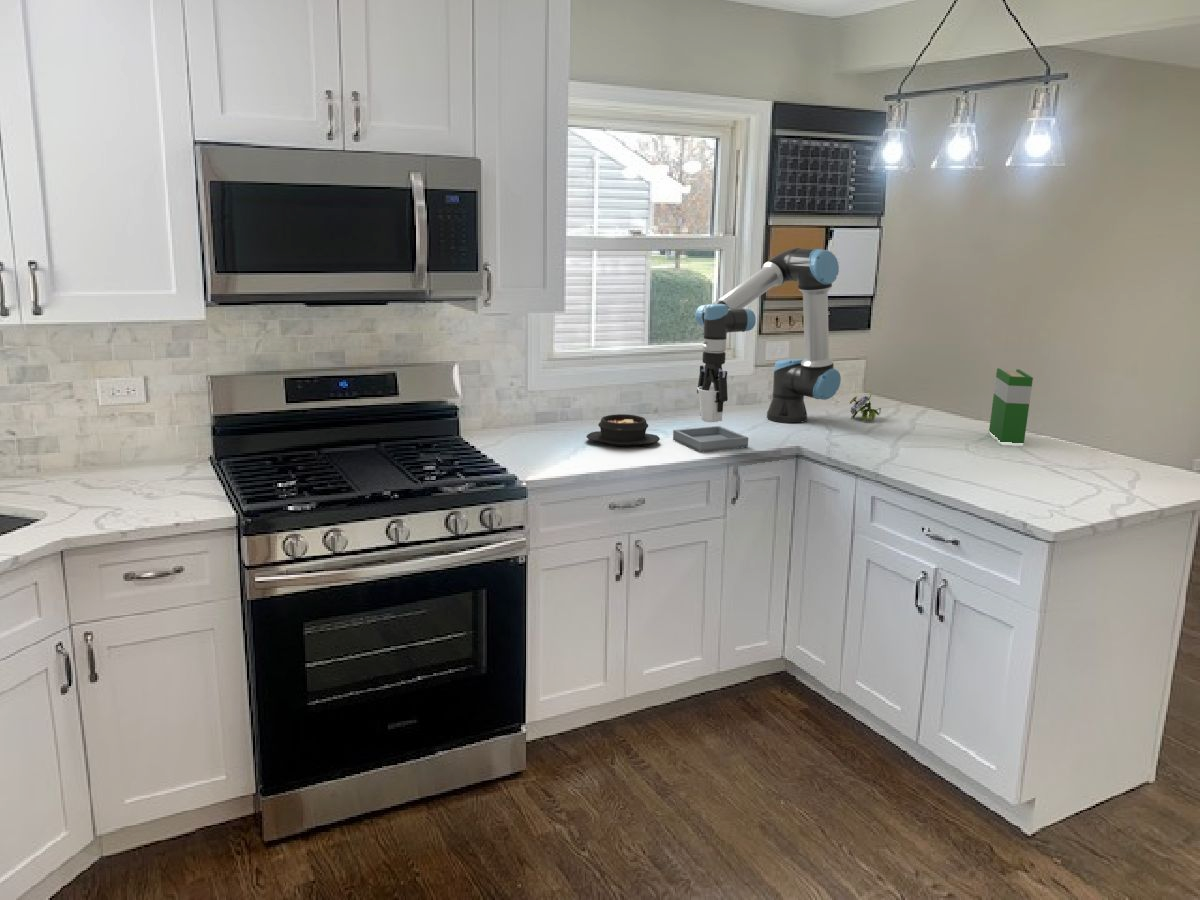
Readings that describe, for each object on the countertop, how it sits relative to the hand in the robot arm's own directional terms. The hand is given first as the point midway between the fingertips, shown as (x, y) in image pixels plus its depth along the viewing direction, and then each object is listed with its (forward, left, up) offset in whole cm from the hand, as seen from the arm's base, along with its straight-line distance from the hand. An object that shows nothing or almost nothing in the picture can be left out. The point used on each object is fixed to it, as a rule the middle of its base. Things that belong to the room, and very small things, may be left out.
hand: (710, 418), depth 302 cm
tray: (0, 0, -9) cm, 9 cm away
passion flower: (-76, -12, -9) cm, 78 cm away
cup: (0, 0, -1) cm, 1 cm away
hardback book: (-101, +33, -9) cm, 107 cm away
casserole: (+27, -12, -9) cm, 31 cm away
